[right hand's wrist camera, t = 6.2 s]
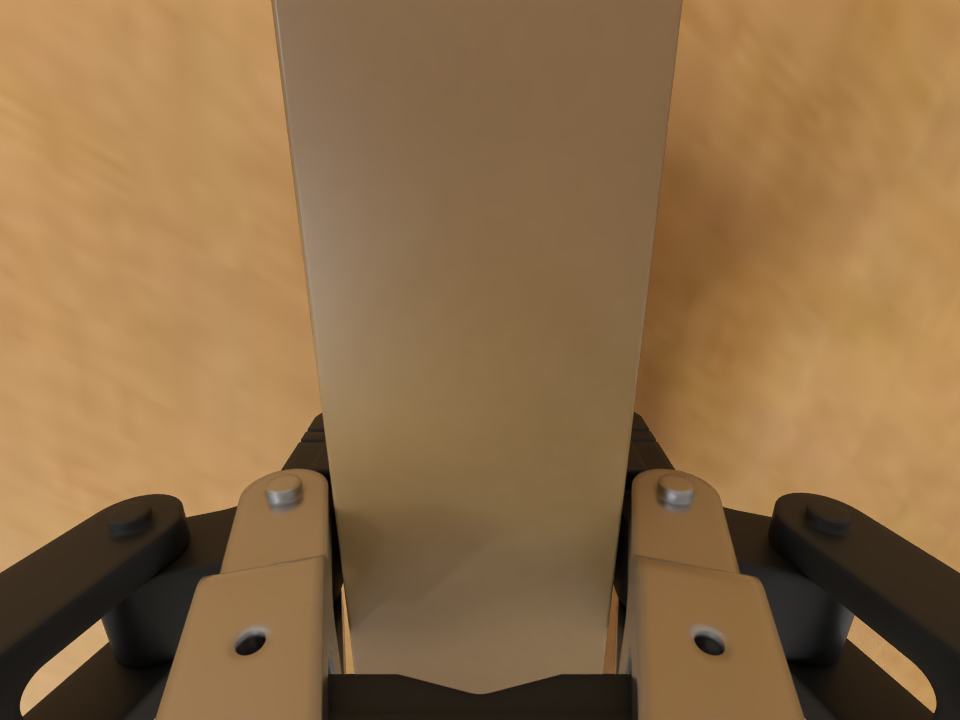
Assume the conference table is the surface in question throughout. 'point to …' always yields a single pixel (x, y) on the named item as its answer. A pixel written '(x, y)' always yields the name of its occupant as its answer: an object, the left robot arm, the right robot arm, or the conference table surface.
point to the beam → (477, 311)
